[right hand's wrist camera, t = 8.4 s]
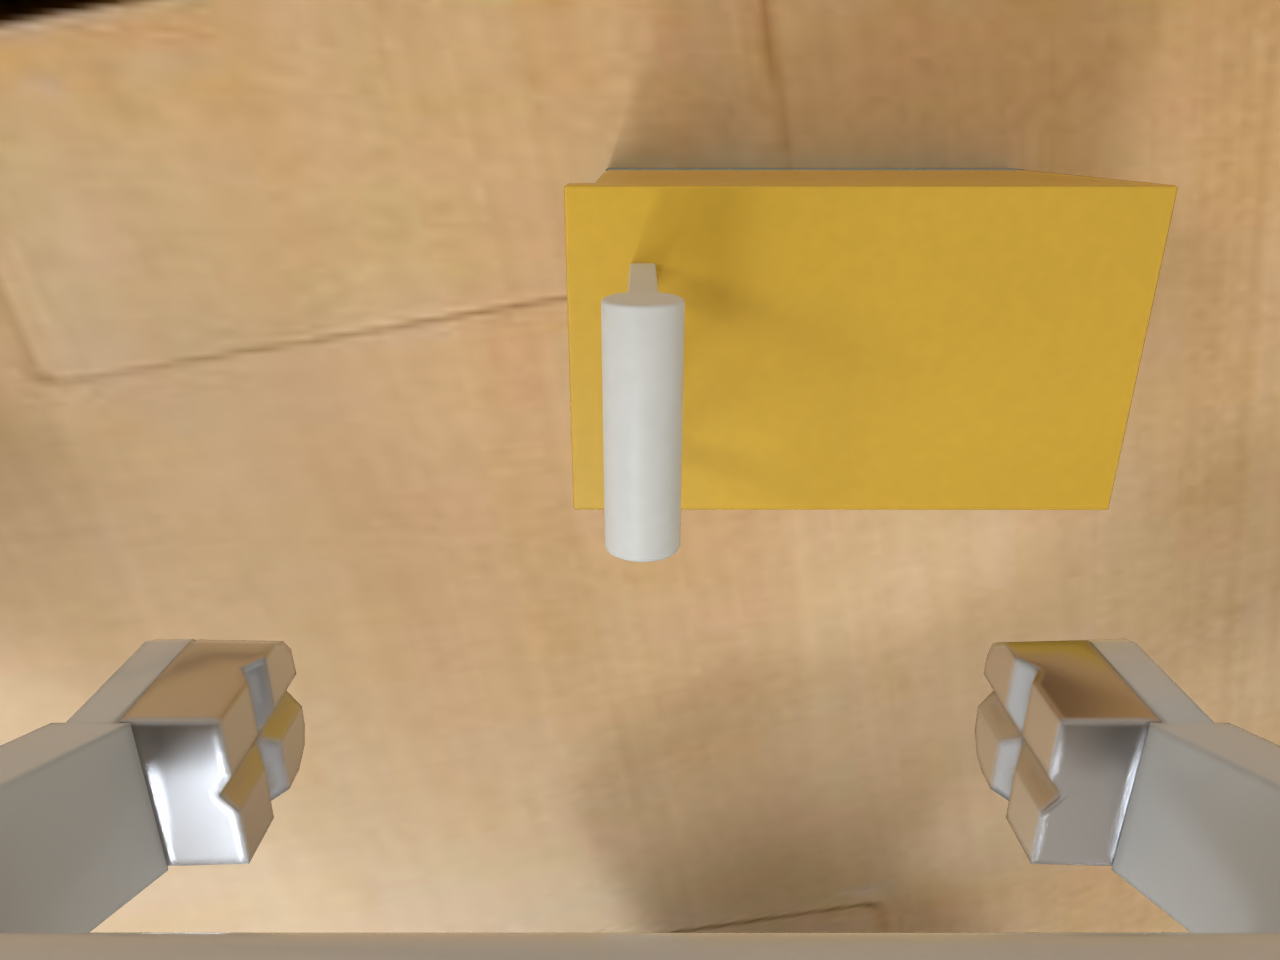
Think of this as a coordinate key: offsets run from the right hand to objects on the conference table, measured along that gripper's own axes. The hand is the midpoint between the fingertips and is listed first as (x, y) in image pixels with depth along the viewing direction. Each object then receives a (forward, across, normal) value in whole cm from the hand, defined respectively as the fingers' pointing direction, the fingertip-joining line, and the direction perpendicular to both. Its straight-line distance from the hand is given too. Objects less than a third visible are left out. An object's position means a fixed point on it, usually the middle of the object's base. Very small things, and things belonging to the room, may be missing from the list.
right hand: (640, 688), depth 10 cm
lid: (+17, +6, 0) cm, 18 cm away
